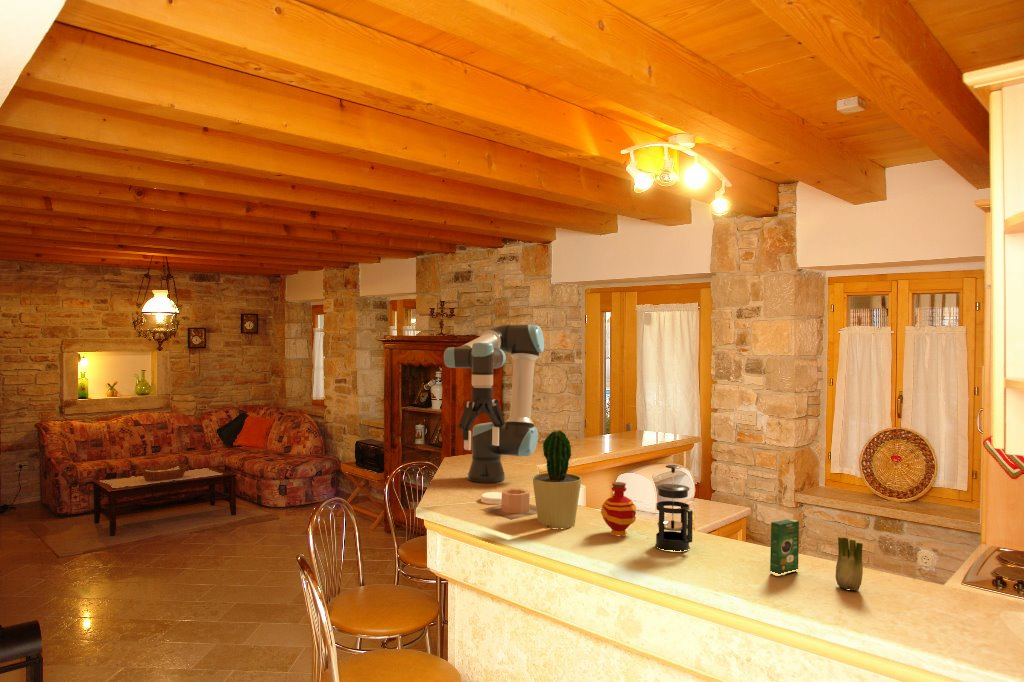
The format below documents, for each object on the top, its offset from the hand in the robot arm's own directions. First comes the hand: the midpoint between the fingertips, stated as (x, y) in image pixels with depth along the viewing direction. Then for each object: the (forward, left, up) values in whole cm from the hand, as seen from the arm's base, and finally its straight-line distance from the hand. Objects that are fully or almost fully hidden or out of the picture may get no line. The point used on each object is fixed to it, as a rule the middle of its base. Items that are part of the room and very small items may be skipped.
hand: (481, 447), depth 237 cm
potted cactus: (-2, +35, -20) cm, 40 cm away
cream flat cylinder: (-4, +3, -20) cm, 21 cm away
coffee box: (-14, +103, -20) cm, 106 cm away
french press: (-10, +73, -20) cm, 76 cm away
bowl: (-1, +17, -19) cm, 25 cm away
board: (-1, +17, -20) cm, 26 cm away
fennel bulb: (-15, +118, -20) cm, 121 cm away
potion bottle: (-9, +54, -20) cm, 58 cm away
